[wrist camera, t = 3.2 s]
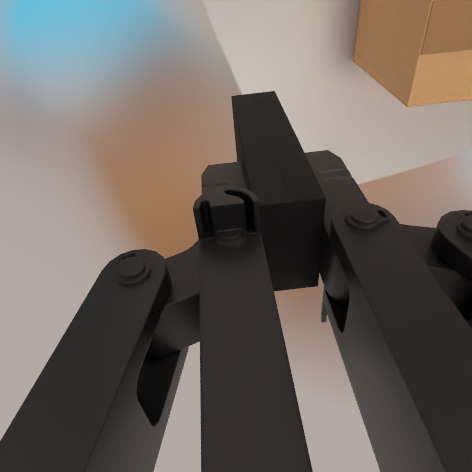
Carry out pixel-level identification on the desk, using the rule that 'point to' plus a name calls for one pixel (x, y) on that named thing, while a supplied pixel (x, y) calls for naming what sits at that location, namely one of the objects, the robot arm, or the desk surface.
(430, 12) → the box
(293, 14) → the desk surface
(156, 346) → the robot arm
